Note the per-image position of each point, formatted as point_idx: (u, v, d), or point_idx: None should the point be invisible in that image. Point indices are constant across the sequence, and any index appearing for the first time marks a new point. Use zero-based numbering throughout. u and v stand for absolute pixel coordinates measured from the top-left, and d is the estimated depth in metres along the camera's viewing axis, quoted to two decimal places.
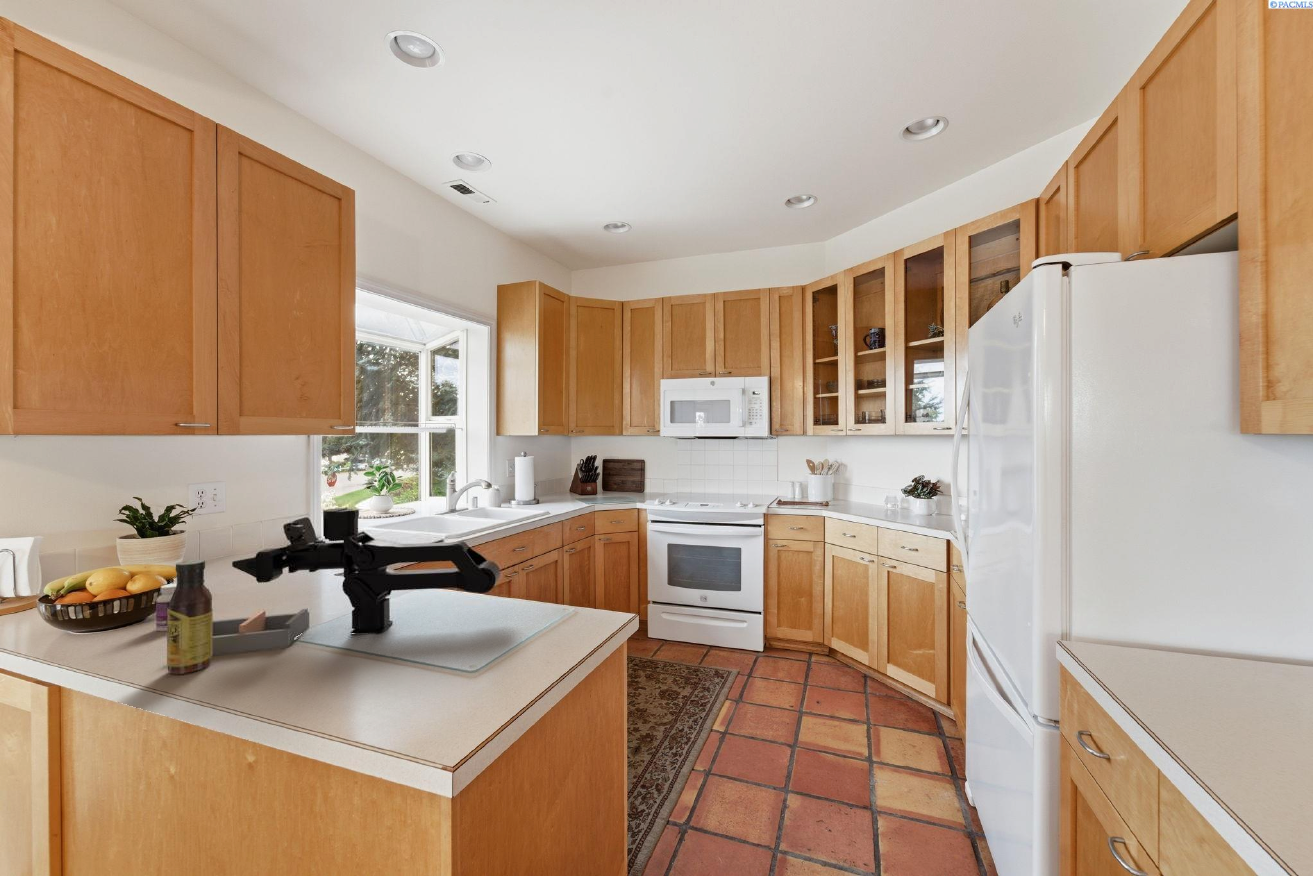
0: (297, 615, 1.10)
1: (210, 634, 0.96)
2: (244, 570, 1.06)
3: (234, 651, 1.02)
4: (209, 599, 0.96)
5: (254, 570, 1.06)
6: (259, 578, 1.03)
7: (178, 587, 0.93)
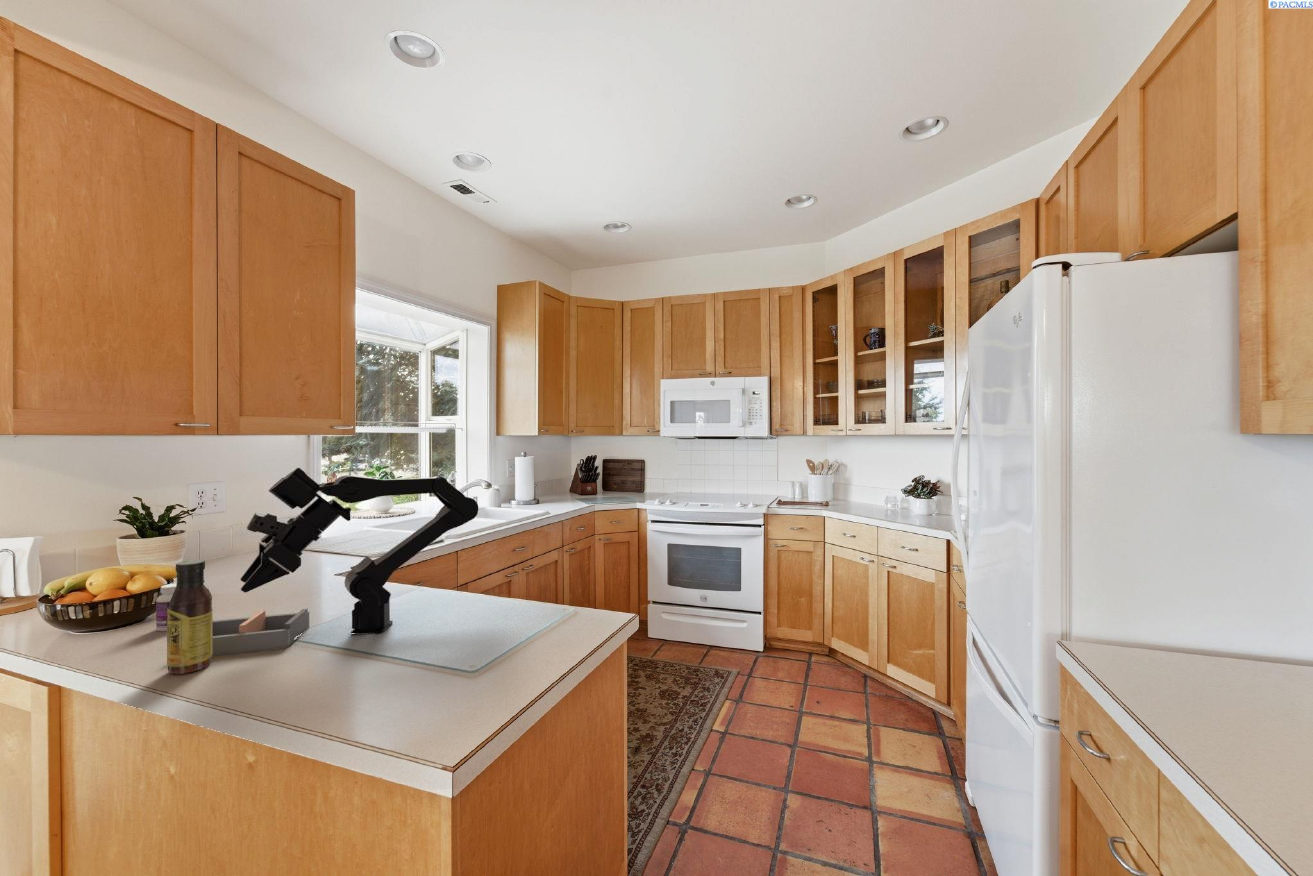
0: (297, 615, 1.10)
1: (210, 634, 0.96)
2: (262, 583, 0.98)
3: (234, 651, 1.02)
4: (209, 599, 0.96)
5: (272, 574, 0.98)
6: (291, 568, 0.97)
7: (178, 587, 0.93)
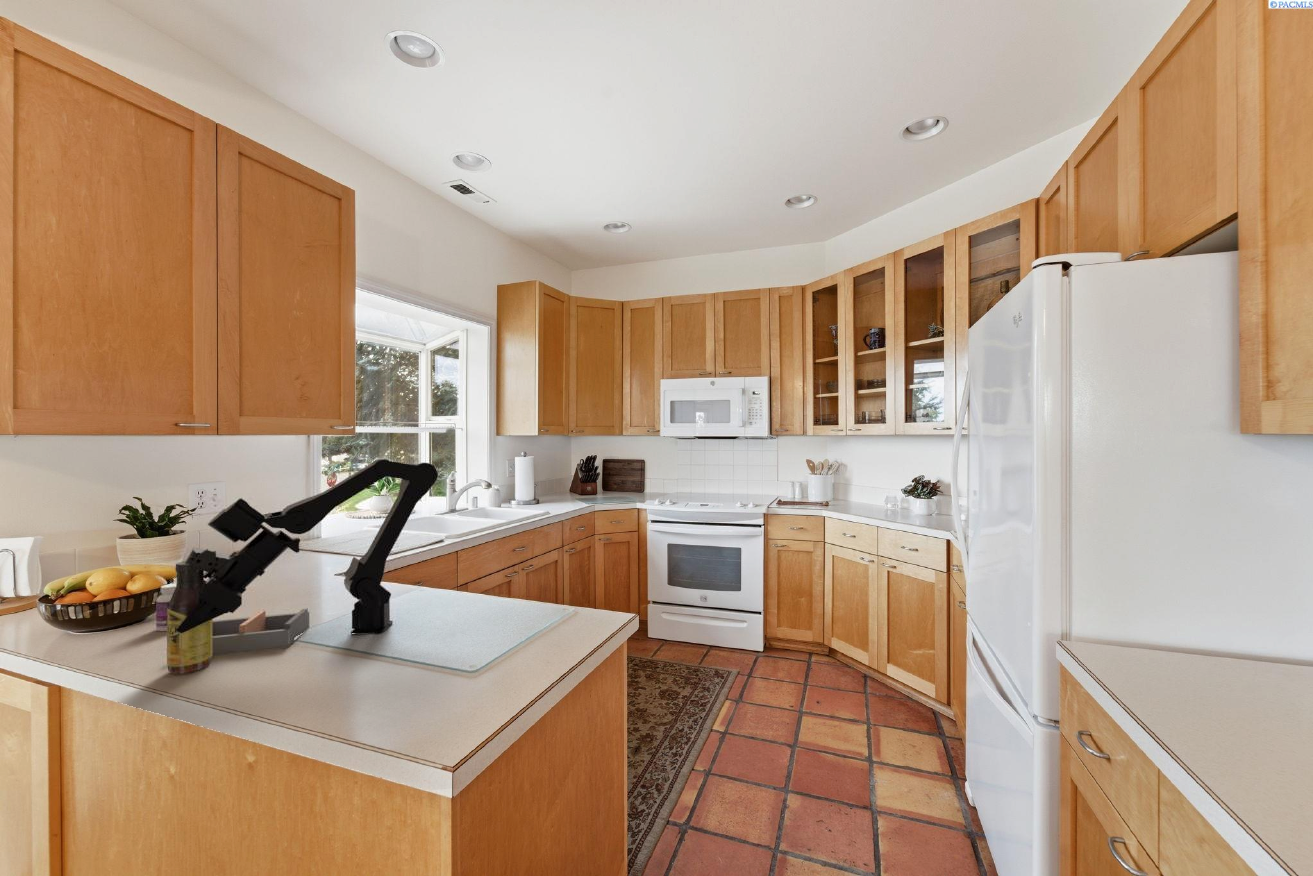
0: (297, 615, 1.10)
1: (210, 634, 0.96)
2: (200, 622, 0.93)
3: (234, 651, 1.02)
4: None
5: (211, 612, 0.93)
6: (230, 608, 0.91)
7: (178, 587, 0.93)
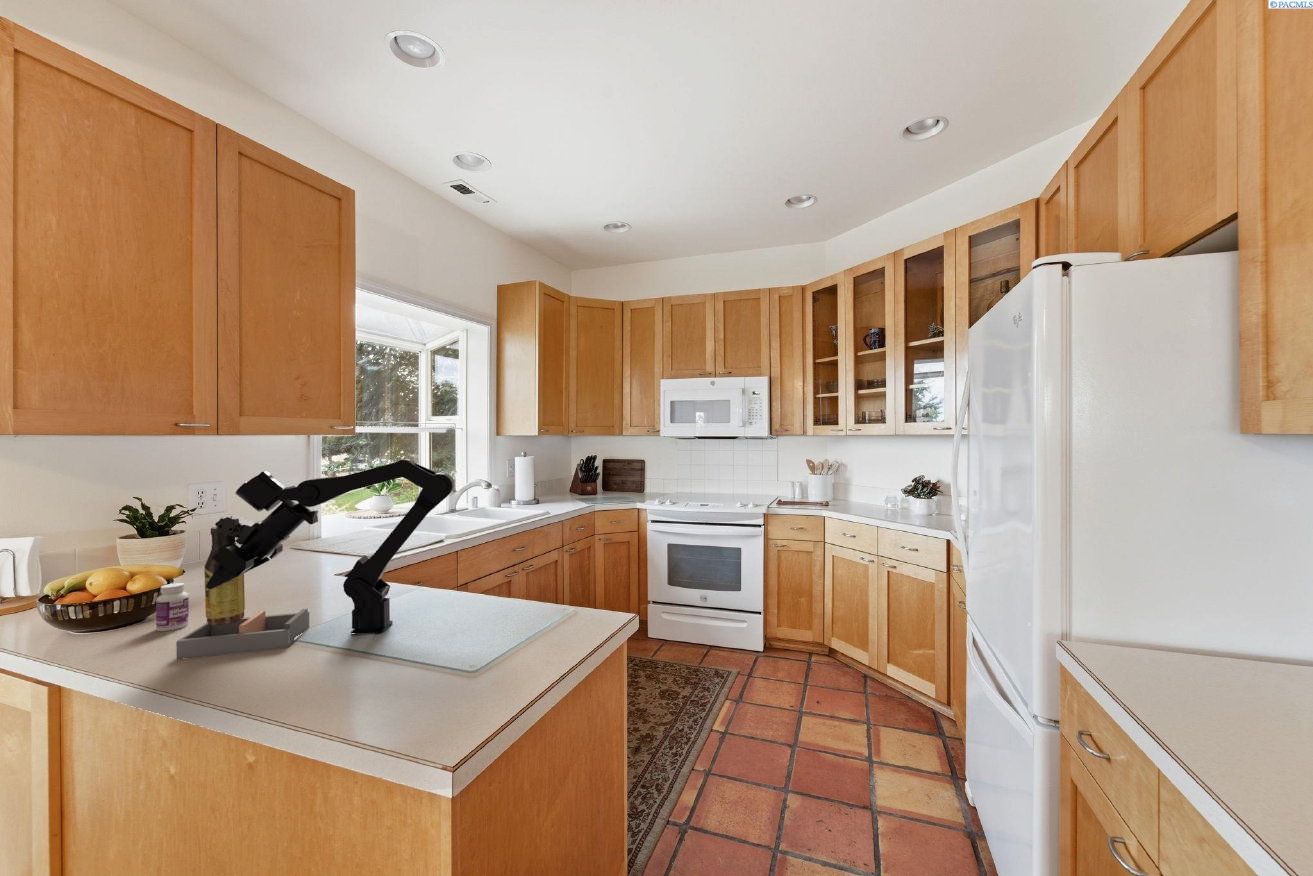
0: (297, 615, 1.10)
1: (237, 593, 1.06)
2: (222, 581, 1.03)
3: (234, 651, 1.02)
4: None
5: (230, 573, 1.03)
6: (234, 571, 0.99)
7: None
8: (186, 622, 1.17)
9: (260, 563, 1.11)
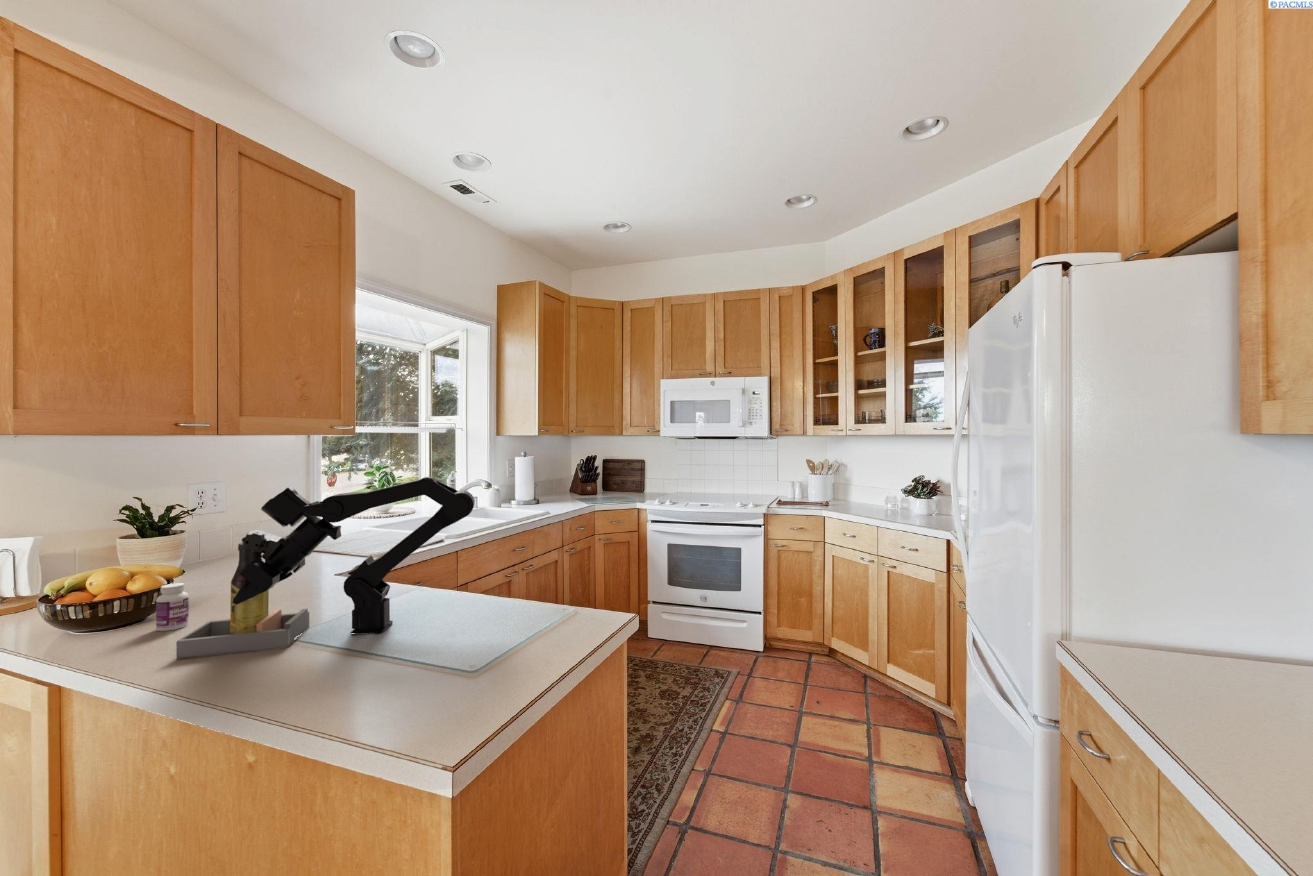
0: (297, 615, 1.10)
1: (262, 608, 1.07)
2: (248, 597, 1.04)
3: (234, 651, 1.02)
4: None
5: (256, 589, 1.04)
6: (262, 587, 1.00)
7: None
8: (186, 622, 1.17)
9: (284, 577, 1.13)
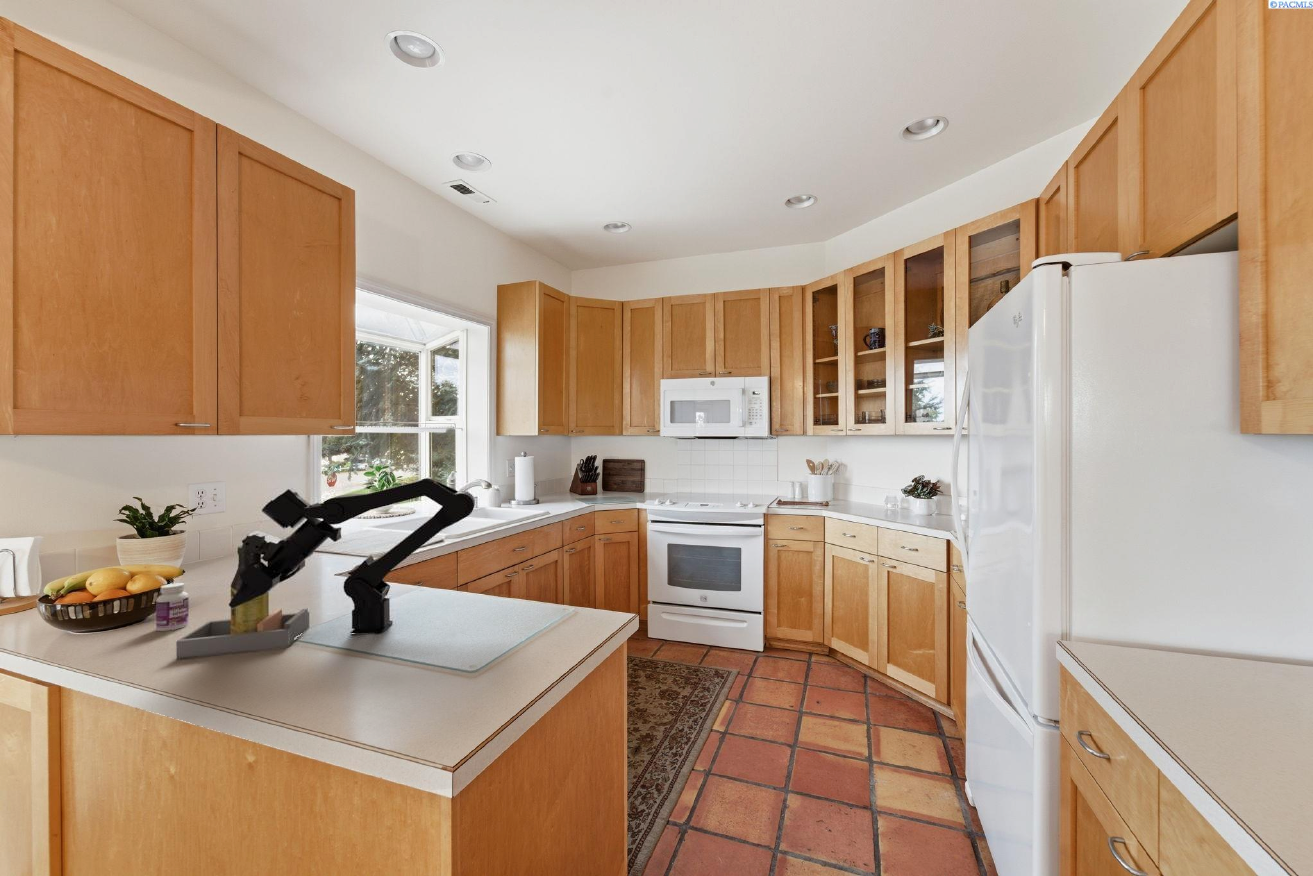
0: (297, 615, 1.10)
1: (262, 611, 1.07)
2: (245, 600, 1.03)
3: (234, 651, 1.02)
4: None
5: (253, 592, 1.03)
6: (261, 588, 1.00)
7: (238, 567, 1.06)
8: (186, 622, 1.17)
9: (286, 577, 1.14)
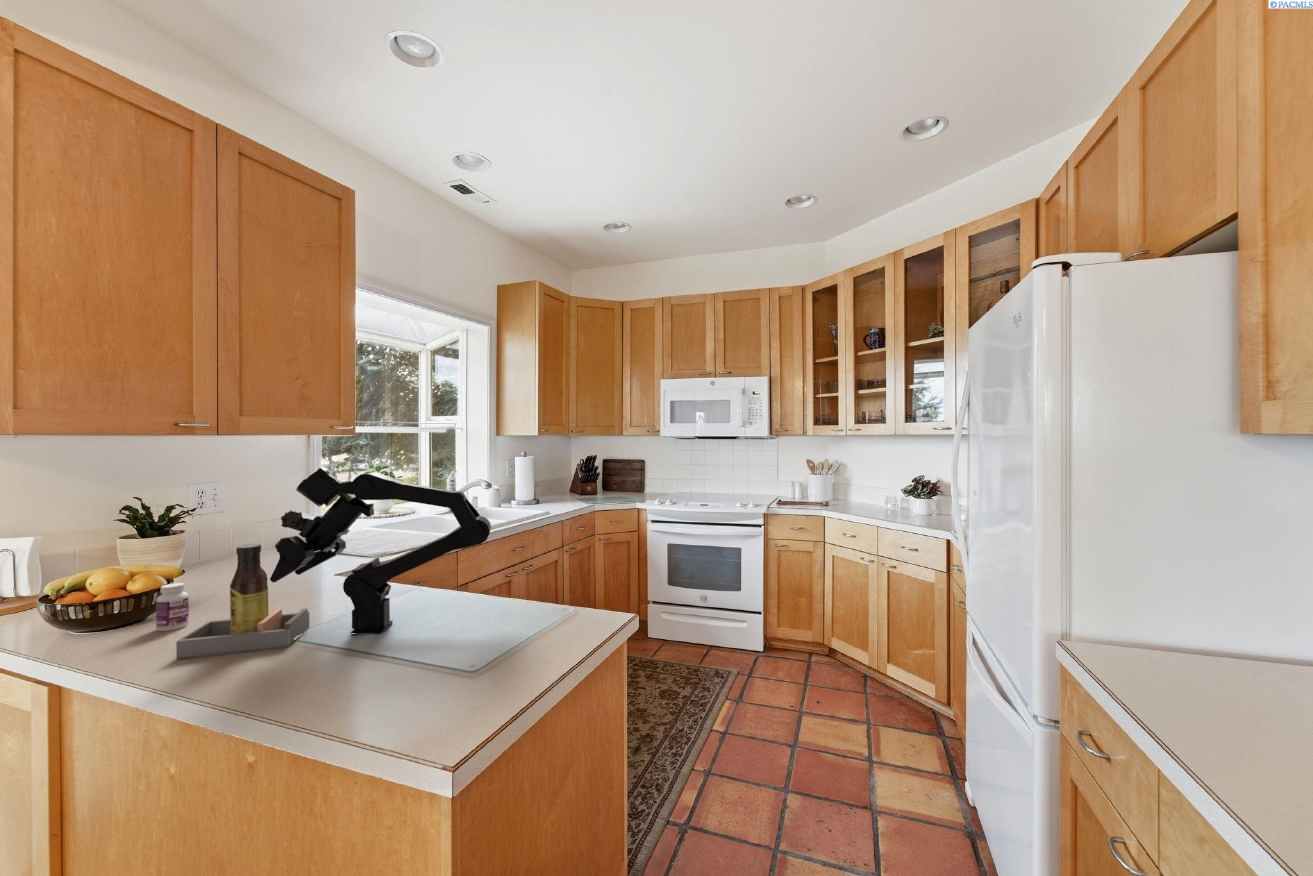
0: (297, 615, 1.10)
1: (262, 611, 1.07)
2: (284, 574, 1.05)
3: (234, 651, 1.02)
4: (261, 580, 1.07)
5: (290, 566, 1.05)
6: (296, 560, 1.02)
7: (237, 567, 1.06)
8: (186, 622, 1.17)
9: (327, 557, 1.16)
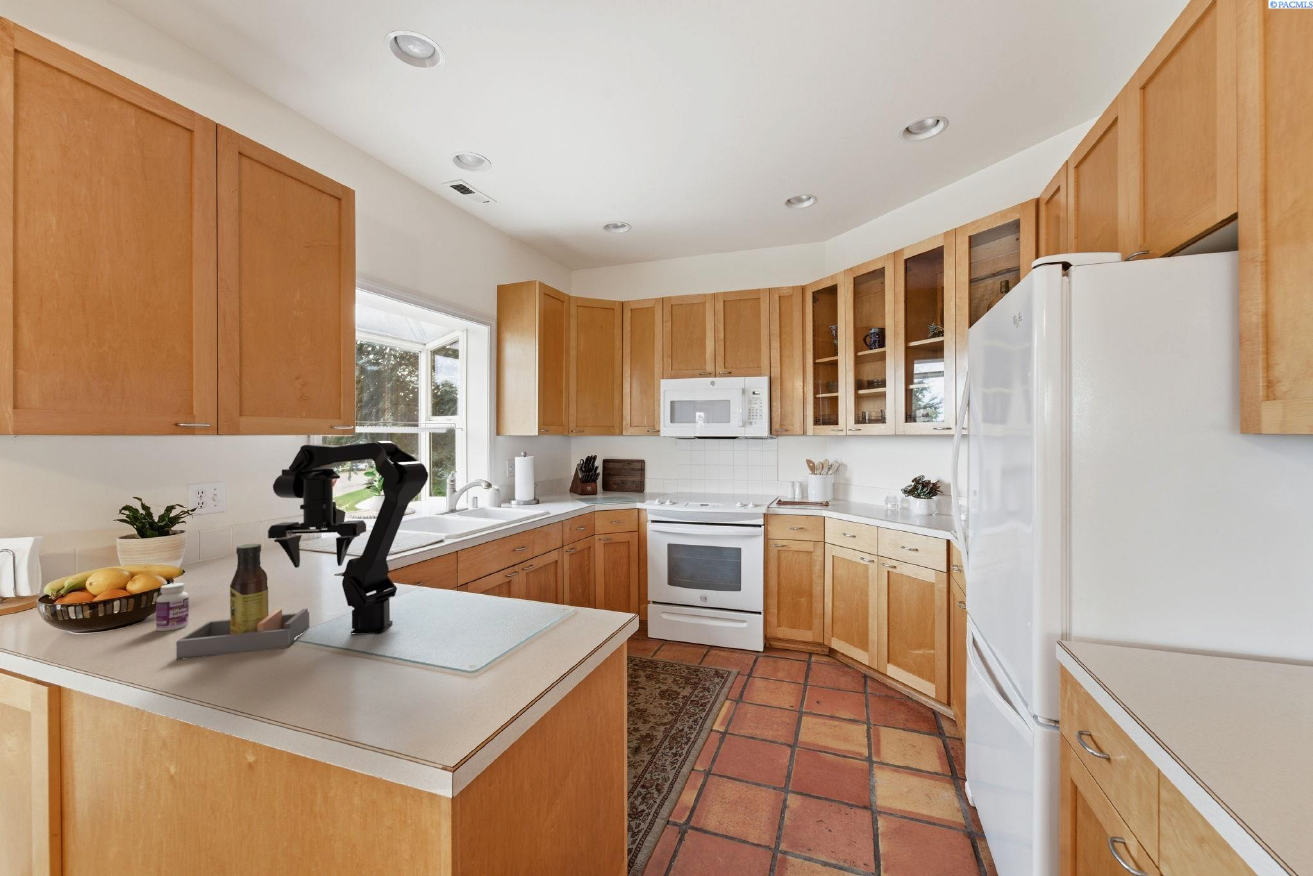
0: (297, 615, 1.10)
1: (262, 611, 1.07)
2: None
3: (234, 651, 1.02)
4: (261, 580, 1.07)
5: None
6: None
7: (237, 567, 1.06)
8: (186, 622, 1.17)
9: None
